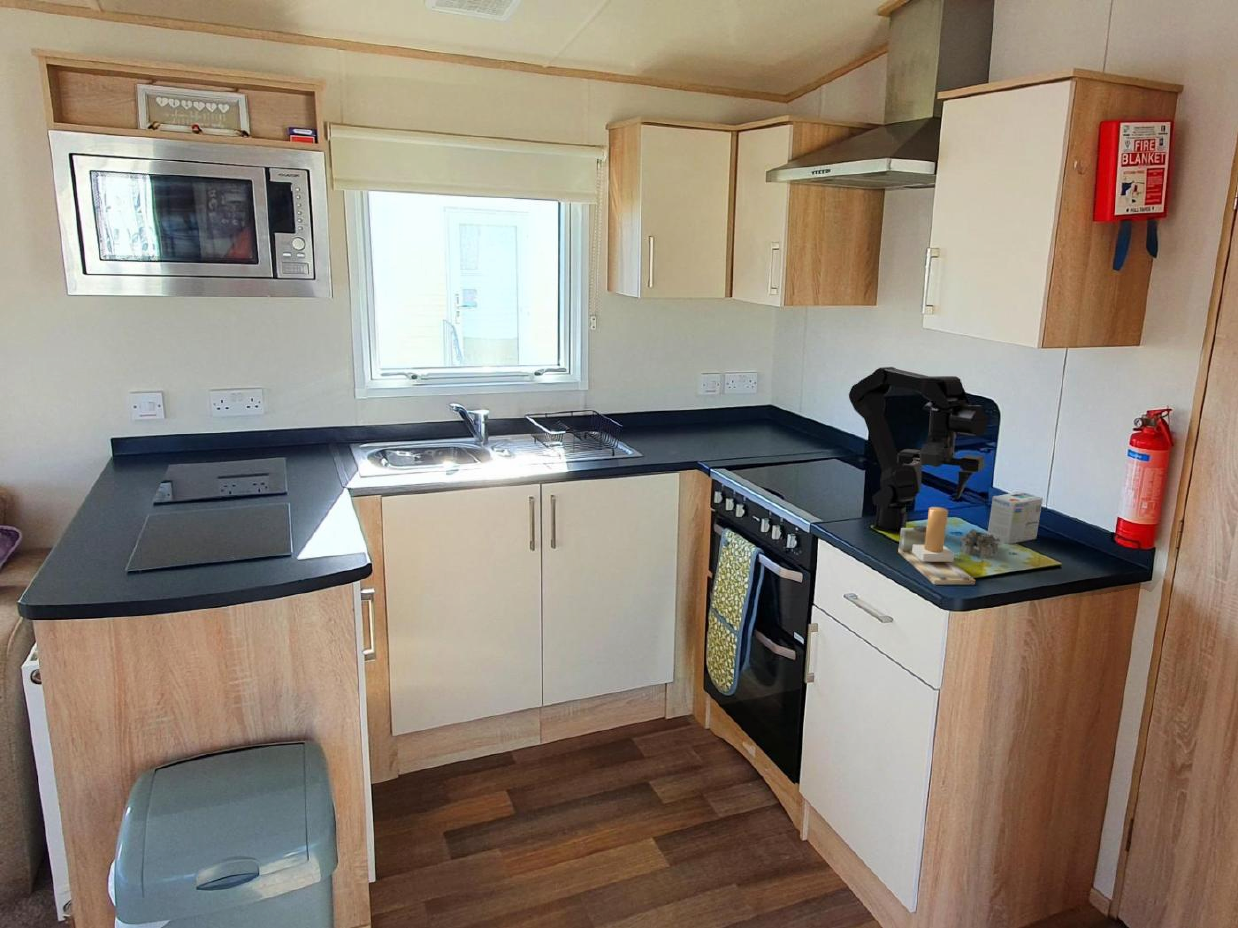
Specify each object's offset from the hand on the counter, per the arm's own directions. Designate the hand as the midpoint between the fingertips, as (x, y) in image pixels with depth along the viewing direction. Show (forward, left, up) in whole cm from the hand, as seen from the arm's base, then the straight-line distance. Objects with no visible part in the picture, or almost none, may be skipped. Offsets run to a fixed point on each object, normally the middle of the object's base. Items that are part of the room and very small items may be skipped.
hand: (937, 495), depth 203 cm
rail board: (+6, -14, -13) cm, 20 cm away
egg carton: (+9, +6, -13) cm, 17 cm away
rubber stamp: (+5, -13, -11) cm, 17 cm away
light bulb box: (+12, +21, -13) cm, 27 cm away
